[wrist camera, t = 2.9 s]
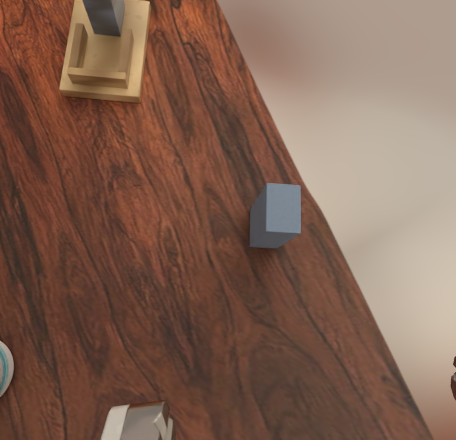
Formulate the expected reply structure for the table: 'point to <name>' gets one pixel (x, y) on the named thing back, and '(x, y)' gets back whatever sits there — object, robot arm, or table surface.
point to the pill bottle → (5, 367)
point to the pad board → (106, 50)
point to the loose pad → (275, 216)
